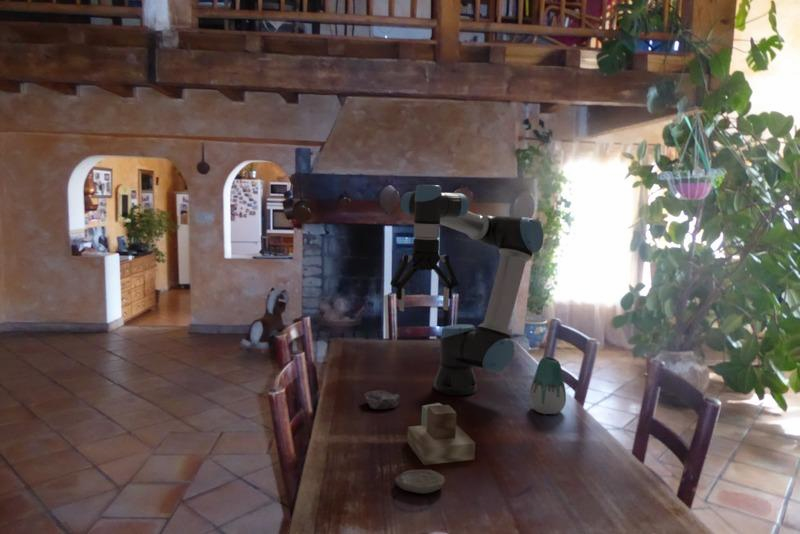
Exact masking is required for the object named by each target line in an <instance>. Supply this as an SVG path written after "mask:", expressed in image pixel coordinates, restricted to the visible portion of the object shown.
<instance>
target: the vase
mask: <svg viewBox="0 0 800 534" xmlns="http://www.w3.org/2000/svg"><path fill="white" fill-rule="evenodd" d="M528 401H529V404H530V406H531V408H532V409H533V410H534V411H535V412H537V413H538V412H539V413H538V414H541V413H542V414H541V415H546V414H554V415H557V414H559V413H561V412H562V411H563V409H564V408H565V406H566V403H567V393H566V385H565V382H564V378H563V370H562V365H561V363H560V362H559V360H558V359H556V358H554V357H551V356H543V357H541V359H540V360H539V362H538V364H537V367H536V369H535V373H534V376H533V379H532V382H531V385H530V388H529V393H528Z"/></svg>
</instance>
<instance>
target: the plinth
mask: <svg viewBox="0 0 800 534" xmlns="http://www.w3.org/2000/svg"><path fill="white" fill-rule="evenodd" d="M406 439H407V440H406V443H407V445H409V447H410V448H411V450H412V451H413V452H414V453H415V455H416V456H417V457H418V459H419V461H421V463H422V464H423V465H424V466H427V465H436V464H446V463H454V462H463V461H464V462H465V461H473V460H475V455H476V454H475V453H476V452H475V451H476V442H475V441H474V440H473V439H471V437H470V436H469V435H468V434H467V433H466V432H465V431H464V430H463V429H462V428H460V426H459V425H457V423H456V434H455V438H451V439H439V440H434V439H433V438H432V437H431V436H430V434H429V433H428V432H427V425H423V426H422V425H414V426H412V425H411V426H407V438H406Z"/></svg>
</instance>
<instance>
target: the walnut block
mask: <svg viewBox="0 0 800 534" xmlns="http://www.w3.org/2000/svg"><path fill="white" fill-rule="evenodd" d="M456 424H457V411H456V410H454V409H453V407H452V406H451V405H450V404H442V405H438V406H428V412H427V432H428V433H429V434H430V436H431V437H432V438H433V439H434V440H439V439H451V438H455V434H456Z"/></svg>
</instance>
